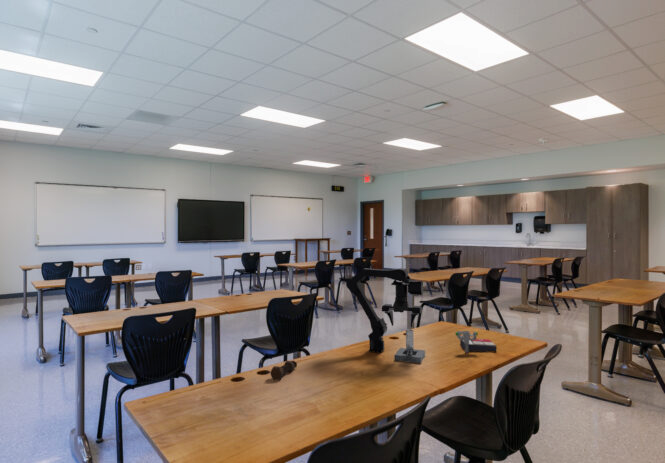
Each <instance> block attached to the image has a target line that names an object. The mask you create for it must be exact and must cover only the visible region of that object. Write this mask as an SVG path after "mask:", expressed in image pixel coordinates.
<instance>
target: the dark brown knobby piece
mask: <svg viewBox="0 0 665 463" xmlns="http://www.w3.org/2000/svg"><path fill="white" fill-rule="evenodd" d="M297 365H298V363H297V362H296V361H295V360H287V361H285V363H284V364H283V365H282V366H277V365H275V366H273V367H272V369H271V370H270V377H271V378H272V380H276V381H280V380H282V378H283V377H284V375H285V374H286V373H292V372H294V370H295V368H297Z"/></svg>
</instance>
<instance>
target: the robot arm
mask: <svg viewBox="0 0 665 463" xmlns="http://www.w3.org/2000/svg"><path fill="white" fill-rule="evenodd" d="M367 277H370V278H371V277H372V278H387V279H390V280H393V281H392V282H391V283H390V286H394V287H395V297H394V303H393V304H392V303H390V304H389V303H384V304H383V305H382V306H381V312H383V313H384V314H386V315H387V316H388V318H389V321H390V324H391V326H392V327H393V326H394V313H402V314H403V313H404V312H411V314H410V328H413V324H414V321H415V319H416V317H417V316H419V315H420V314H422V312H423V308H422V306H421V305H412V307H411V306H409V302H408V297H409V296H408V293H409V294H410V296H423V295H424V285H423V281H422V280H413V279H412V278H411V277H410V276H409V272H408V270H407V269H406V268H402V267H399V268H393V269H379V268H376V269H375V268H367V267H365V268H362V269H360V270H359V271H358V272H357V273H356V274H355V275H354V276H352V277H351V278H348V279H347V280H346V283H345V285H346V288H347V289H348V290H349V292H350V293H351V294H353V296H355V297H356V300H358V303H359V305H360V307H361V309H362V310H363V312H364V313H365V315H366V317H367V319H368V320H369V324H370V329H371V332H370V333H369V334H368V339H369V349H368V352H370V351H374V352H373V353H382V352H383V351H384V350H385V340H384V335H385V334H386V333H387V332H388V323H387V322H385V319H384V317H382V318H381V317H379V316H378V315H377V313H376V311H375V309H374V308H373V306H372V304H371V302H370V301H369V299H368V297H367V295H366V294H365V293H364V292H365V291H364V287H363V284H362V282H363V281H364V280H365V278H367Z"/></svg>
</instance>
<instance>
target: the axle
mask: <svg viewBox="0 0 665 463" xmlns="http://www.w3.org/2000/svg"><path fill="white" fill-rule="evenodd" d="M414 342H415V340H414V329H412V328H411V329H410V328H407V329H405V348H406V354H409V355H414V349H415V346H414V345H415V344H414Z"/></svg>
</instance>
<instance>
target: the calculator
mask: <svg viewBox="0 0 665 463" xmlns="http://www.w3.org/2000/svg"><path fill="white" fill-rule="evenodd" d="M459 342H460V343H459V345H461V346H460V347H461V348H462V349H463V351H465V343H464V340H459ZM486 351H496V352H497V345H496V344H495V343H494V342H493V341H492V340H490V339H489V338H488V339H487V338H486V339H484V338H476V340H469V344H468V352H486Z"/></svg>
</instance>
